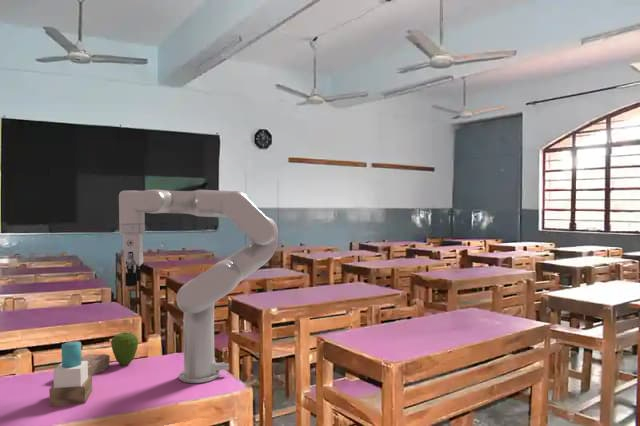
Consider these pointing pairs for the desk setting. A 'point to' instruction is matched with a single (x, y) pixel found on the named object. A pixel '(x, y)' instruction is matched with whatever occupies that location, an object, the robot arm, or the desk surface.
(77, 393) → the tower base
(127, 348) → the green egg shape
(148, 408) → the desk surface
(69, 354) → the cylinder
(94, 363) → the brick
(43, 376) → the desk surface
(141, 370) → the desk surface
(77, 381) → the tower top
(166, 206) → the robot arm
